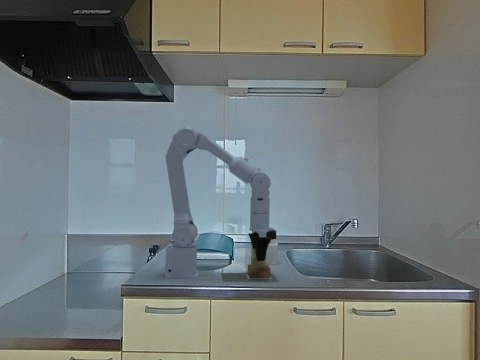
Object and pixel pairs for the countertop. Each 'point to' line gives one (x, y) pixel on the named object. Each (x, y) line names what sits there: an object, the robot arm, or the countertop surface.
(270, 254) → the medicine bottle
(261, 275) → the walnut base
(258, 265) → the maple block
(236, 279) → the mat
